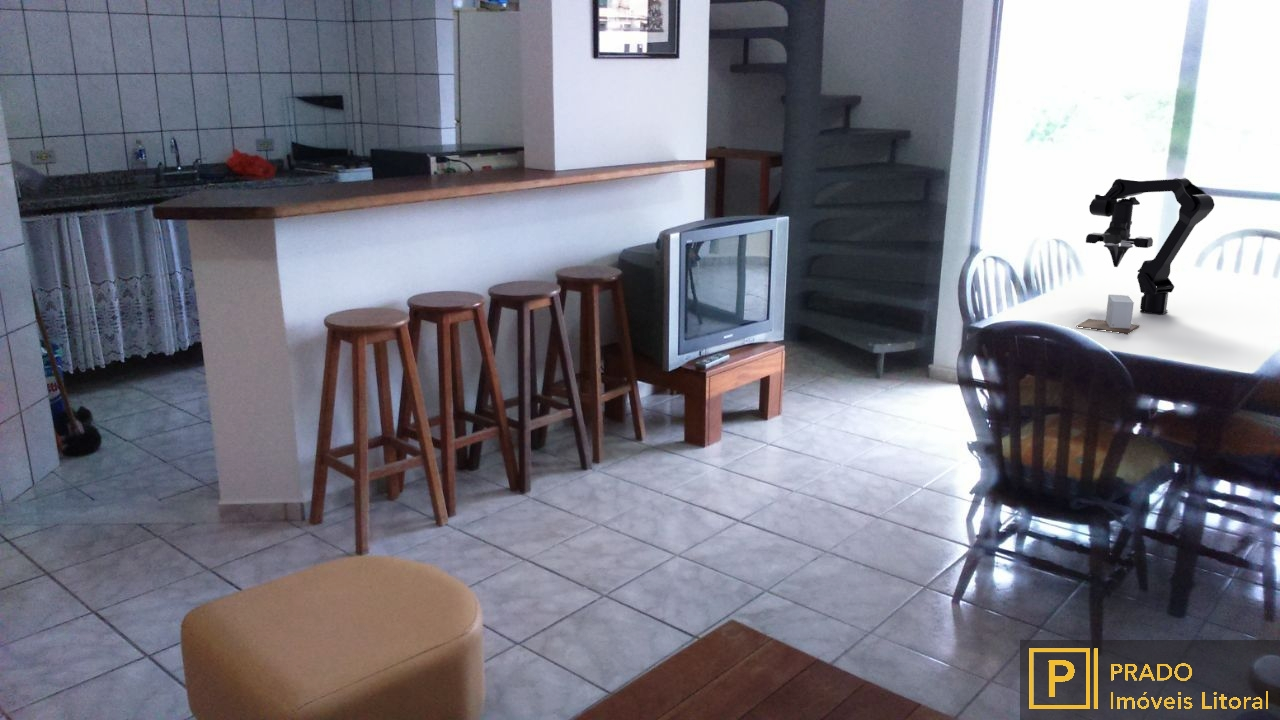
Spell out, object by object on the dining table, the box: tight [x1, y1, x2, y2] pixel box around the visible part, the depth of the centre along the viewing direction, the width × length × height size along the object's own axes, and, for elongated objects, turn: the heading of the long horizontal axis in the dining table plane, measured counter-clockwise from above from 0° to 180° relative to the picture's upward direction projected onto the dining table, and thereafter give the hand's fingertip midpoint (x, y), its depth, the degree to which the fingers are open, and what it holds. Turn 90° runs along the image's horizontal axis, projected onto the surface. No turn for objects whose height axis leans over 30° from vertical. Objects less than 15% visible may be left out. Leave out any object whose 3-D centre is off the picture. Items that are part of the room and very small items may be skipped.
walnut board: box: [1075, 318, 1140, 335], centre depth 289 cm, size 14×12×1 cm
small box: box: [1105, 294, 1135, 329], centre depth 288 cm, size 8×6×10 cm
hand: (1115, 266), depth 318 cm, fingers closed
